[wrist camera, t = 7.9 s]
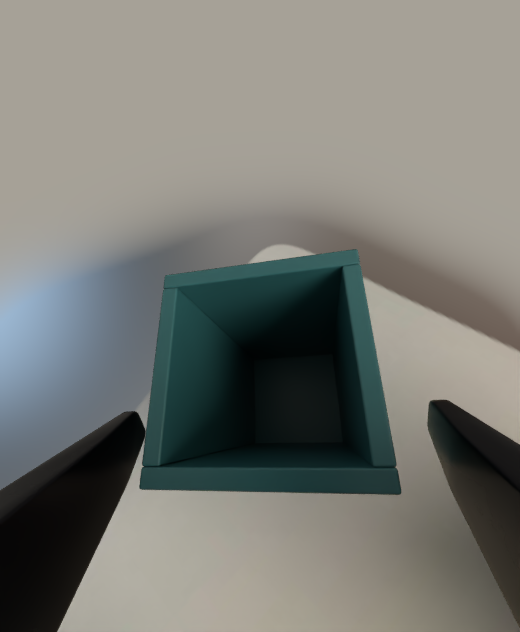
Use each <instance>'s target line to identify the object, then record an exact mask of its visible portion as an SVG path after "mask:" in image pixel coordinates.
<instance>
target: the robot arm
mask: <svg viewBox="0 0 520 632" xmlns="http://www.w3.org/2000/svg"><path fill="white" fill-rule="evenodd" d="M427 424H428V430H429V433H430V436H431V439H432V441H433V444H434V447H435V449H436V452H437V455H438V457H439V460H440V463H441V465H442V468H443V471H444V473H445V476H446V479H447V481H448V484H449V486H450V489H451V491H452V493H453V495H454V497H455V499H456V501H457V503H458V505H459V507H460V509H461V511H462V513H463V515H464V517H465V519H466V521H467V523H468V525H469V527H470V529H471V531H472V533H473V535H474V537H475V539H476V541H477V543H478V545H479V547H480V549H481V551H482V553H483V555H484V557H485V559H486V561H487V563H488V565H489V567H490V569H491V571H492V573H493V575H494V577H495V579H496V581H497V583H498V585H499V587H500V589H501V591H502V593H503V595H504V597H505V599H506V601H507V603H508V605H509V607H510V609H511V611H512V613H513V615H514V617H515V619H516V621H517V623H518V625H519V627H520V445H519V444H518V443H516V442H514V441H513V440H511V439H510V438H508V437H506V436H505V435H503V434H501V433H500V432H498V431H497V430H495V429H493V428H492V427H490V426H489V425H487V424H485V423H484V422H482V421H480V420H479V419H477V418H476V417H474V416H472V415H471V414H469V413H468V412H466V411H464V410H463V409H461V408H460V407H458V406H456V405H455V404H453V403H451V402H450V401H448V400H432V401H430V403H429V409H428V422H427ZM144 438H145V428H144V425H143V423H142V421H141V418H140V416H139V414H138V413H137V412H135V411H131V412H124V413H122V414H120V415H119V416H117V417H115V418H114V419H112V420H111V421H109V422H108V423H106V424H104V425H103V426H101V427H100V428H98V429H97V430H95V431H93V432H92V433H90V434H89V435H87V436H85V437H84V438H82V439H81V440H79V441H78V442H76V443H74V444H73V445H71V446H70V447H68V448H66V449H65V450H63V451H62V452H60V453H58V454H57V455H55V456H54V457H52V458H51V459H49V460H47V461H46V462H44V463H43V464H41V465H40V466H38V467H36V468H35V469H33V470H32V471H30V472H29V473H27V474H25V475H24V476H22V477H20V478H19V479H17V480H16V481H14V482H13V483H11V484H10V485H8V486H6V487H5V488H3V489H2V490H0V632H57V631H58V629H59V627H60V625H61V623H62V621H63V619H64V616H65V614H66V612H67V610H68V608H69V606H70V604H71V602H72V600H73V597H74V595H75V593H76V591H77V589H78V587H79V585H80V583H81V581H82V579H83V576H84V574H85V572H86V570H87V568H88V566H89V564H90V562H91V560H92V557H93V555H94V553H95V551H96V549H97V547H98V545H99V543H100V541H101V539H102V536H103V534H104V532H105V530H106V528H107V526H108V524H109V522H110V520H111V518H112V515H113V513H114V511H115V509H116V507H117V505H118V503H119V501H120V499H121V496H122V494H123V492H124V490H125V488H126V486H127V483H128V481H129V478H130V476H131V473H132V471H133V468H134V465H135V463H136V460H137V457H138V455H139V452H140V449H141V447H142V444H143V441H144Z"/></svg>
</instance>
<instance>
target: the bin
mask: <svg viewBox="0 0 520 632" xmlns="http://www.w3.org/2000/svg"><path fill="white" fill-rule="evenodd" d="M359 264H360V261H359V255H358V251H357V249H353V250H346V251H339V252H332V253H325V254H317V255H310V256H303V257H295V258H288V259H281V260H274V261H266V262H259V263H252V264H245V265H238V266H231V267H224V268H216V269H208V270H202V271H194V272H187V273H180V274H173V275H166V276H165V280H164V290H163V296H162V304H161V313H160V321H159V330H158V338H157V347H156V354H155V363H154V371H153V380H152V387H151V396H150V404H149V412H148V420H147V429H146V437H145V445H144V454H143V462H142V465H143V466H145V467H143V468H142V470H141V478H140V489H142V490H188V491H237V492H285V493H334V494H383V495H400V494H401V486H400V481H399V475H398V470H397V469H396V468H395V467H396V459H395V453H394V448H393V442H392V437H391V431H390V426H389V420H388V415H387V409H386V404H385V398H384V393H383V387H382V382H381V376H380V371H379V365H378V360H377V354H376V349H375V343H374V338H373V332H372V327H371V321H370V316H369V310H368V305H367V299H366V294H365V288H364V283H363V277H362V272H361V266H360V265H359Z"/></svg>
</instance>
